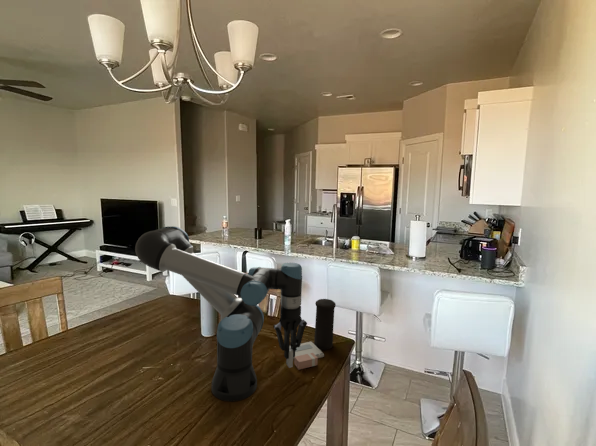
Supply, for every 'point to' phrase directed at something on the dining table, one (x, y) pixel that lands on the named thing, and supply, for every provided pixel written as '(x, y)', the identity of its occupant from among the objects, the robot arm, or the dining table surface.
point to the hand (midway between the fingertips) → (289, 365)
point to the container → (324, 323)
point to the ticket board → (308, 350)
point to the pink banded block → (305, 361)
